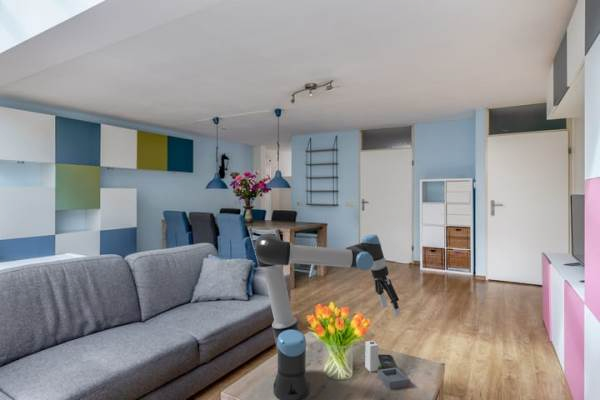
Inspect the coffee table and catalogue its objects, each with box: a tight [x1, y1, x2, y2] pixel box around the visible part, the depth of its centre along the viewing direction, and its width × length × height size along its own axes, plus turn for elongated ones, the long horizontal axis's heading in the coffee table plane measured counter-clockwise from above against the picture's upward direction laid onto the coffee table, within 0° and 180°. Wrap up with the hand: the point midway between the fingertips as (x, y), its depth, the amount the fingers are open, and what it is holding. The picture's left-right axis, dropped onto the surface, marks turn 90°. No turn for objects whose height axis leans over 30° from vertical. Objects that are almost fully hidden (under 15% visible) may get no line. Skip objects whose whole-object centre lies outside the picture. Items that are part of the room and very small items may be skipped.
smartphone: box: [378, 354, 398, 370], centre depth 172 cm, size 8×1×15 cm
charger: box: [364, 340, 379, 373], centre depth 166 cm, size 4×5×13 cm
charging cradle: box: [377, 367, 410, 390], centre depth 155 cm, size 9×10×3 cm
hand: (391, 311), depth 166 cm, fingers open, 13 cm apart
